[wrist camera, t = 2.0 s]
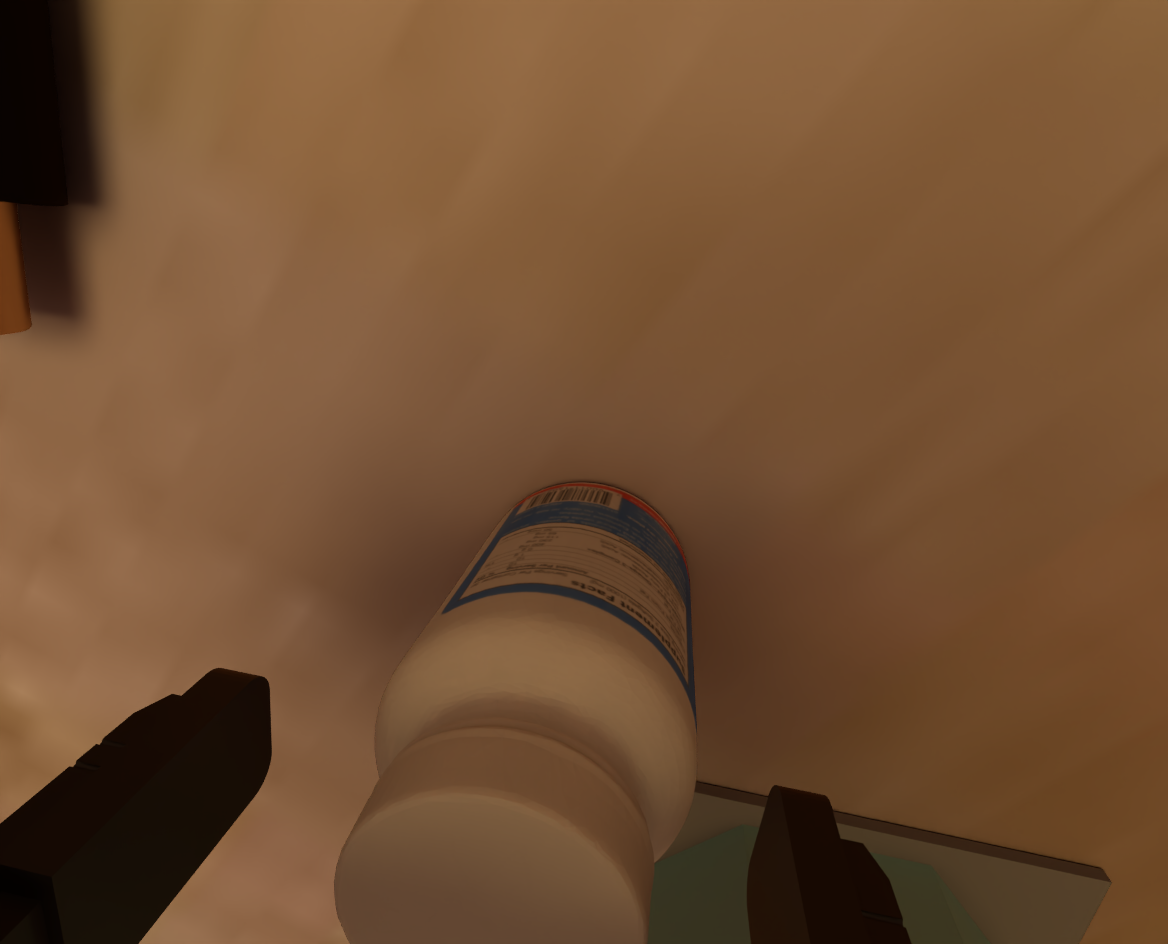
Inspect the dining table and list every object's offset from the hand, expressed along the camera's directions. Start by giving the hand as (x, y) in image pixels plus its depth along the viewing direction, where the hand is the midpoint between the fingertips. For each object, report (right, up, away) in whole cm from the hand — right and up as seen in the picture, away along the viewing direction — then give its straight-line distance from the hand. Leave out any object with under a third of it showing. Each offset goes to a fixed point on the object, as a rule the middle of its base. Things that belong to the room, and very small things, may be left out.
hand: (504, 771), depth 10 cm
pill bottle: (+1, +2, +7) cm, 8 cm away
